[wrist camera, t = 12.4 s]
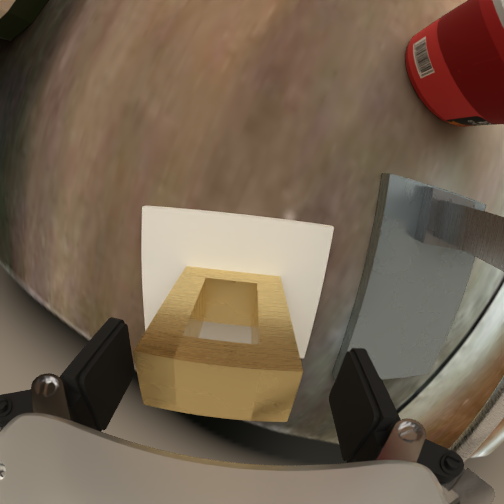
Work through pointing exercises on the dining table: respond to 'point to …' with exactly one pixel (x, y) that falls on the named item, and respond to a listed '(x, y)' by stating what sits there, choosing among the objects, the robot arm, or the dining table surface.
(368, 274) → the stand
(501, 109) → the canned food
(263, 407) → the rectangular frame block
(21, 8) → the wine bottle
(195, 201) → the dining table surface
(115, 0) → the dining table surface
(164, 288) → the pad
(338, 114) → the dining table surface
